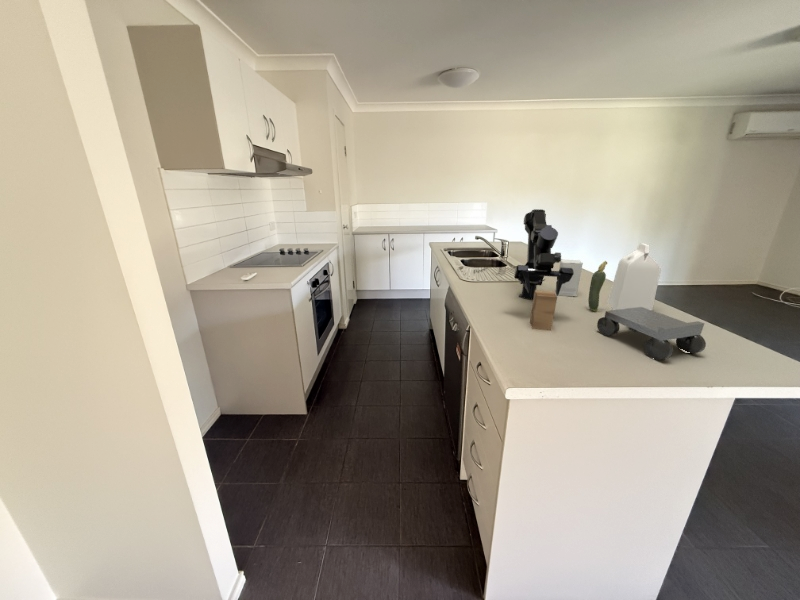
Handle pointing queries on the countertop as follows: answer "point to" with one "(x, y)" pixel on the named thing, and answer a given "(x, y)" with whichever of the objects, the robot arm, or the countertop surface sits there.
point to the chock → (543, 310)
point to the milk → (635, 280)
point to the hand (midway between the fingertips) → (543, 294)
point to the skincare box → (572, 285)
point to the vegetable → (596, 287)
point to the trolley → (655, 330)
